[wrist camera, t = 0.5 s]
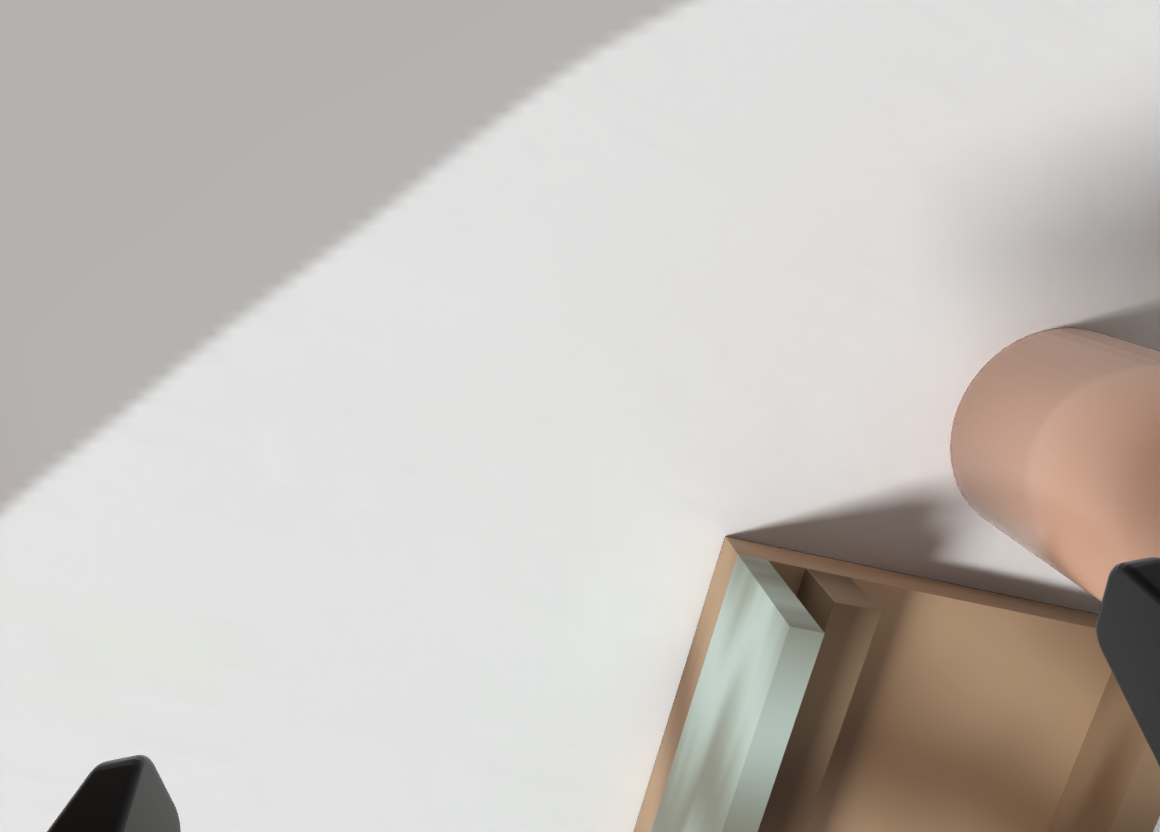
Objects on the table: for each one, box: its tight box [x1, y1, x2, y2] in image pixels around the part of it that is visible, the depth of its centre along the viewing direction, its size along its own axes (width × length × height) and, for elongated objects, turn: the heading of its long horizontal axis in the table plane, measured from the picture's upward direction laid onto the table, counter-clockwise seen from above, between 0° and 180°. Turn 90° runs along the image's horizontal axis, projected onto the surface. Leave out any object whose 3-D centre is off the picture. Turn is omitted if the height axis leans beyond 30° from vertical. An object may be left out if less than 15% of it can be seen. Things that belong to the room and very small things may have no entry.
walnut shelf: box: [634, 536, 1160, 832], centre depth 28 cm, size 11×14×5 cm
